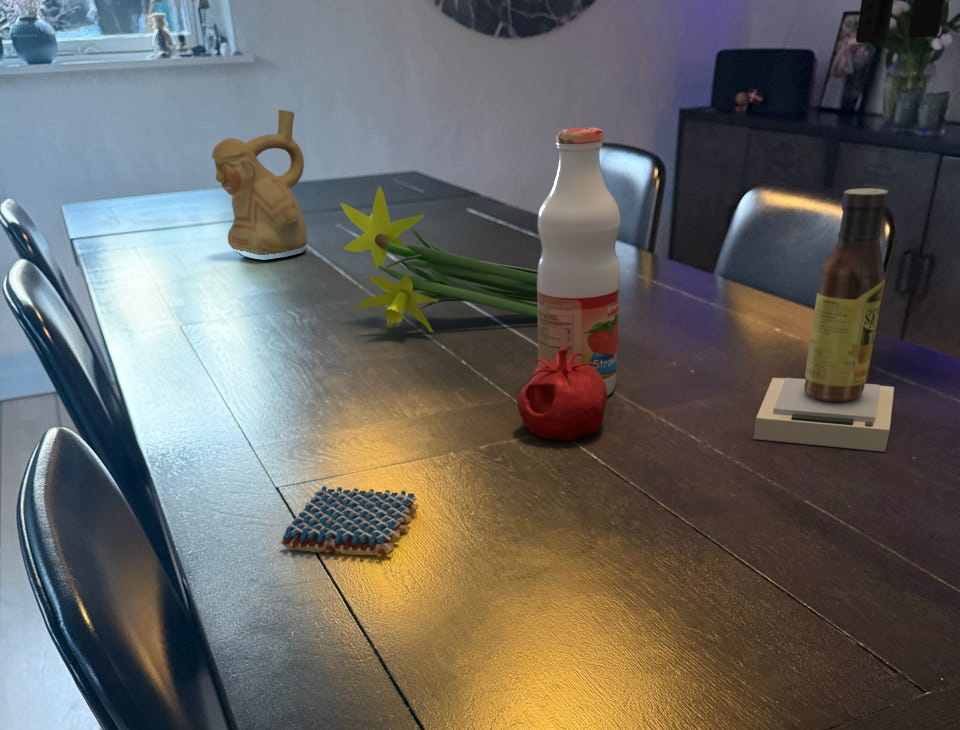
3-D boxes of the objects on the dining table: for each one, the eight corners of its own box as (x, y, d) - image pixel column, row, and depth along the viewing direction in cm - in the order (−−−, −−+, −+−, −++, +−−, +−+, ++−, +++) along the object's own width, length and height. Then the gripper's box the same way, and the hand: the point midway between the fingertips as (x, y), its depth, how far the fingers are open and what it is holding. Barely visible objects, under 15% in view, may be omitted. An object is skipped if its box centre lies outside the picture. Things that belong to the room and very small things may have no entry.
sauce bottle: (863, 406, 96) (903, 197, 85) (800, 402, 98) (831, 196, 87) (863, 385, 101) (901, 185, 90) (803, 382, 103) (833, 185, 92)
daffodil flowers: (570, 345, 131) (322, 291, 125) (547, 371, 145) (323, 323, 140) (590, 227, 130) (342, 167, 125) (565, 264, 145) (342, 212, 139)
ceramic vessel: (211, 258, 187) (183, 117, 173) (292, 241, 198) (272, 106, 184) (255, 270, 177) (229, 120, 162) (339, 251, 187) (321, 109, 173)
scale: (770, 397, 108) (773, 372, 106) (890, 407, 103) (895, 381, 102) (753, 439, 98) (756, 412, 96) (885, 452, 94) (891, 423, 92)
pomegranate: (593, 409, 107) (595, 328, 102) (618, 441, 99) (621, 354, 94) (509, 418, 106) (507, 336, 101) (528, 451, 98) (526, 364, 93)
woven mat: (424, 507, 88) (422, 488, 87) (390, 562, 80) (387, 541, 79) (321, 501, 90) (318, 482, 89) (278, 554, 82) (274, 533, 81)
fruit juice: (545, 376, 118) (542, 126, 102) (619, 378, 116) (628, 123, 100) (532, 402, 110) (527, 136, 94) (611, 405, 108) (619, 133, 92)
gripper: (923, -193, 79) (884, 44, 89) (1021, -181, 88) (975, 33, 98) (845, -178, 84) (816, 45, 94) (945, -169, 93) (909, 35, 103)
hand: (897, 39), depth 96 cm, fingers open, 9 cm apart
